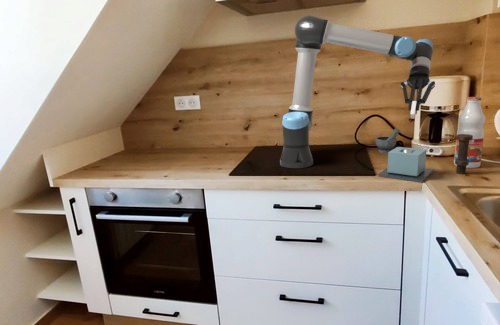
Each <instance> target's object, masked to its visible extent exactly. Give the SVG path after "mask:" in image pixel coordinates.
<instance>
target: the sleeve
mask: <svg viewBox="0 0 500 325" xmlns="http://www.w3.org/2000/svg"><path fill="white" fill-rule="evenodd" d="M403 149H412V153H407V152H403ZM426 162H427V149H424V148H414V147H402V146H396V147H395V148H392V150H391V151H390V152H388V153H387V167H386V168H387V172H390V173H397V174H404V175H411V176H418V175H419V174H420V173H421V172H422V171H424V170H425V168H426Z"/></svg>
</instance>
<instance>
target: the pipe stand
mask: <svg viewBox="0 0 500 325" xmlns="http://www.w3.org/2000/svg"><path fill="white" fill-rule="evenodd" d="M403 152H407V153H412V149H403ZM431 173H432V174H433V173H434V169H432V168H426V167H425V170H424V171H422V172H421V173H420V174H419V175H418V176H411V175H404V174H397V173H390V172H387V167H386V168H385V169H384V170H382V171H381V172H379V173H378V174H377V175H378V177H380V178H387V179H394V180H401V181H407V182H414V183H420V184H421V183H422V184H423V182H425V180H427V179H428V178H429V177H430V176H431V175H432V174H431ZM430 174H431V175H430ZM429 175H430V176H429ZM428 176H429V177H428ZM427 177H428V178H427Z"/></svg>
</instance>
